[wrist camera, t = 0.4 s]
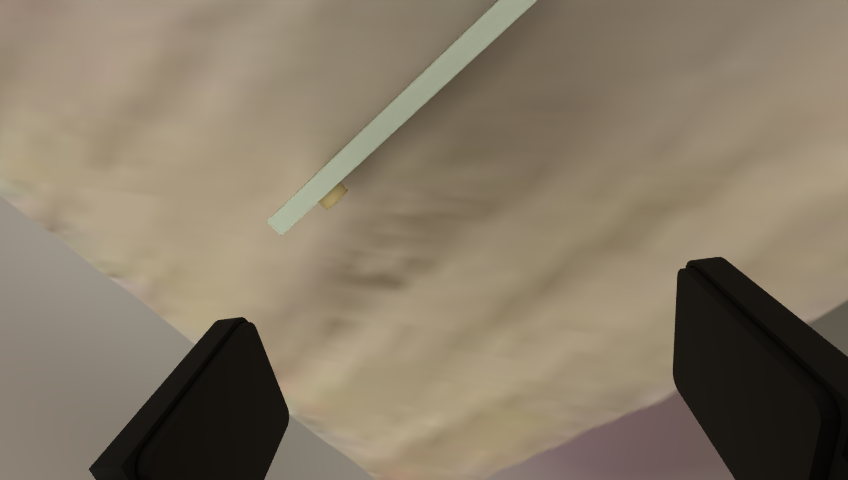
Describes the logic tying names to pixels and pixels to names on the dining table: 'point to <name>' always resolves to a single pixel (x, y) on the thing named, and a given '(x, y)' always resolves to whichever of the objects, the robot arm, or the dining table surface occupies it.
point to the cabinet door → (398, 112)
